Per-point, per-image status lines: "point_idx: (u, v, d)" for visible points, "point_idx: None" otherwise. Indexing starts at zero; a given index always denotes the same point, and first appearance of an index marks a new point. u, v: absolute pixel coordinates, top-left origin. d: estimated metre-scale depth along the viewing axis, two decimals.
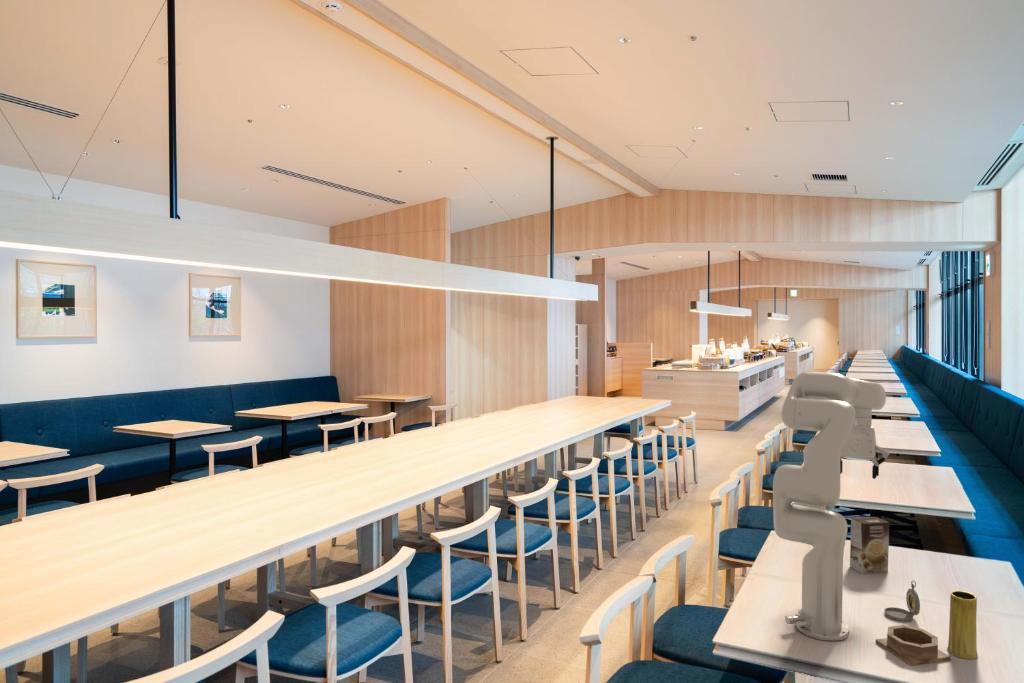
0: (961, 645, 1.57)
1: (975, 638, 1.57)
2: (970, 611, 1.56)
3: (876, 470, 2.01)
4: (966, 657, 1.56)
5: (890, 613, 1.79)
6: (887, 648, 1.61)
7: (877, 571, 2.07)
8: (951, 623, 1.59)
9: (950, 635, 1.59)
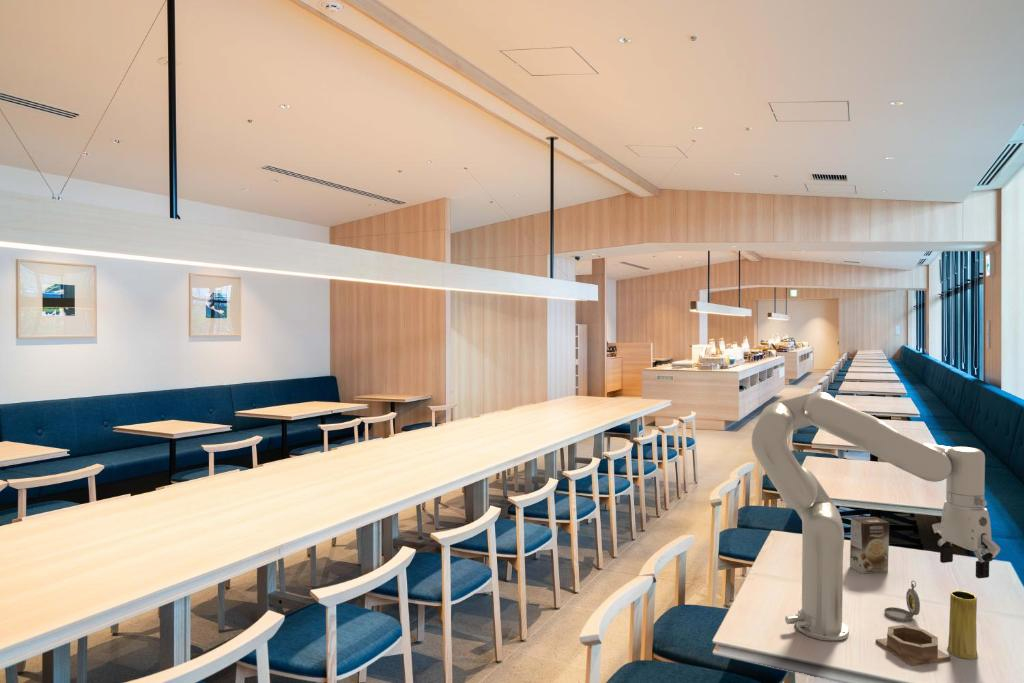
0: (961, 645, 1.57)
1: (975, 638, 1.57)
2: (970, 611, 1.56)
3: None
4: (966, 657, 1.56)
5: (890, 613, 1.79)
6: (887, 648, 1.61)
7: (877, 571, 2.07)
8: (951, 623, 1.59)
9: (950, 635, 1.59)
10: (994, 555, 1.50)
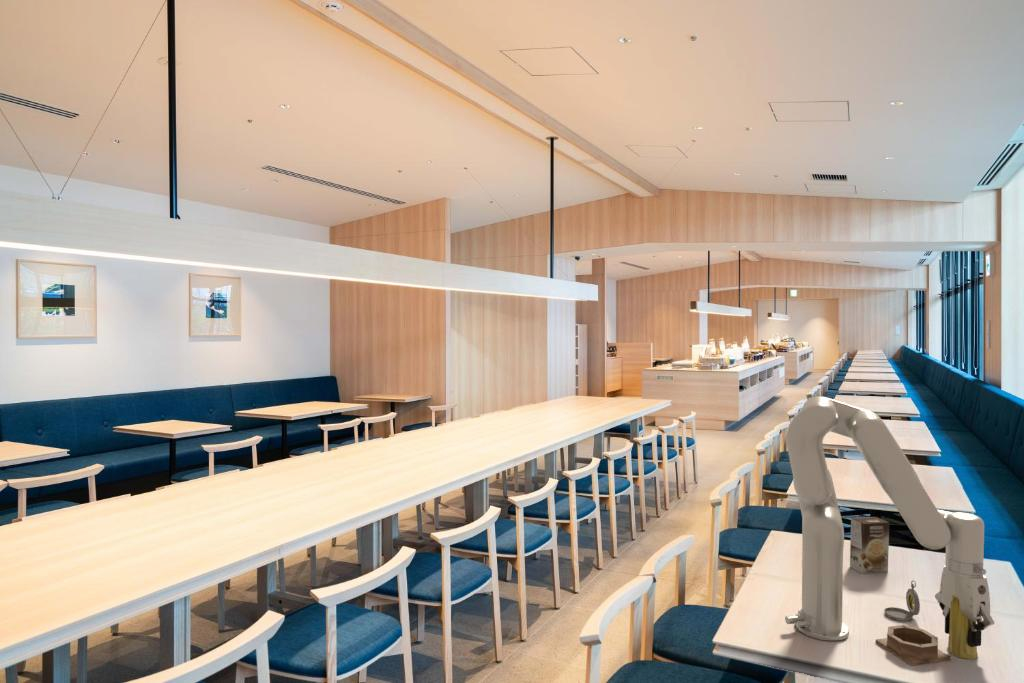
0: (961, 645, 1.57)
1: None
2: None
3: None
4: (966, 657, 1.56)
5: (890, 613, 1.79)
6: (887, 648, 1.61)
7: (877, 571, 2.07)
8: (951, 623, 1.59)
9: (950, 635, 1.59)
10: (986, 626, 1.53)
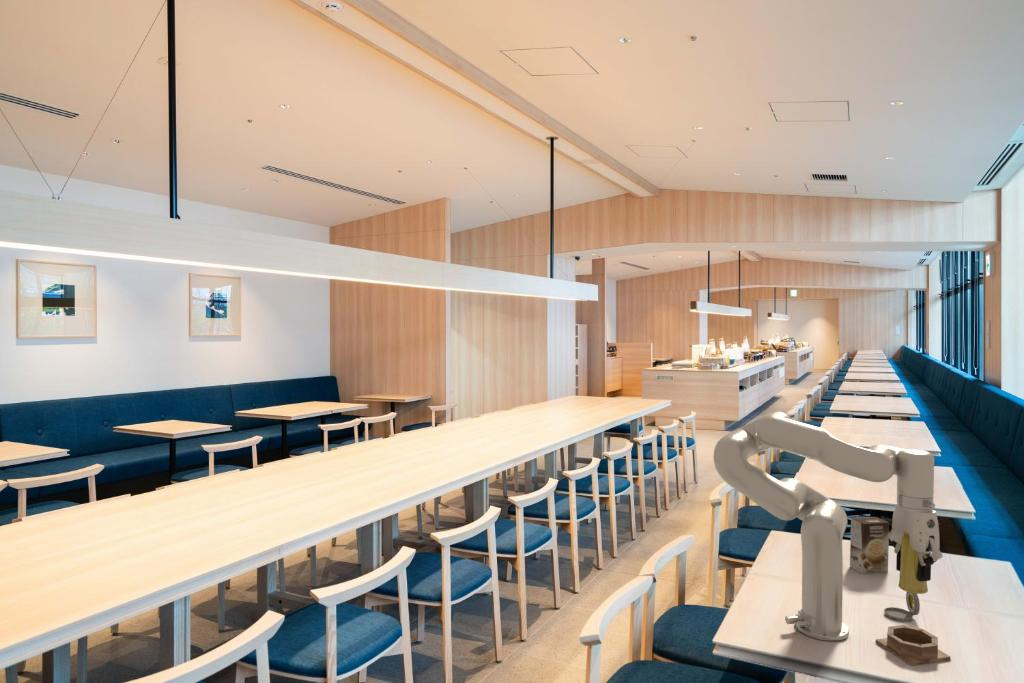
0: (911, 580, 1.57)
1: None
2: None
3: None
4: (916, 591, 1.57)
5: (890, 613, 1.79)
6: (887, 648, 1.61)
7: (877, 571, 2.07)
8: (902, 559, 1.59)
9: (901, 571, 1.60)
10: (934, 560, 1.53)
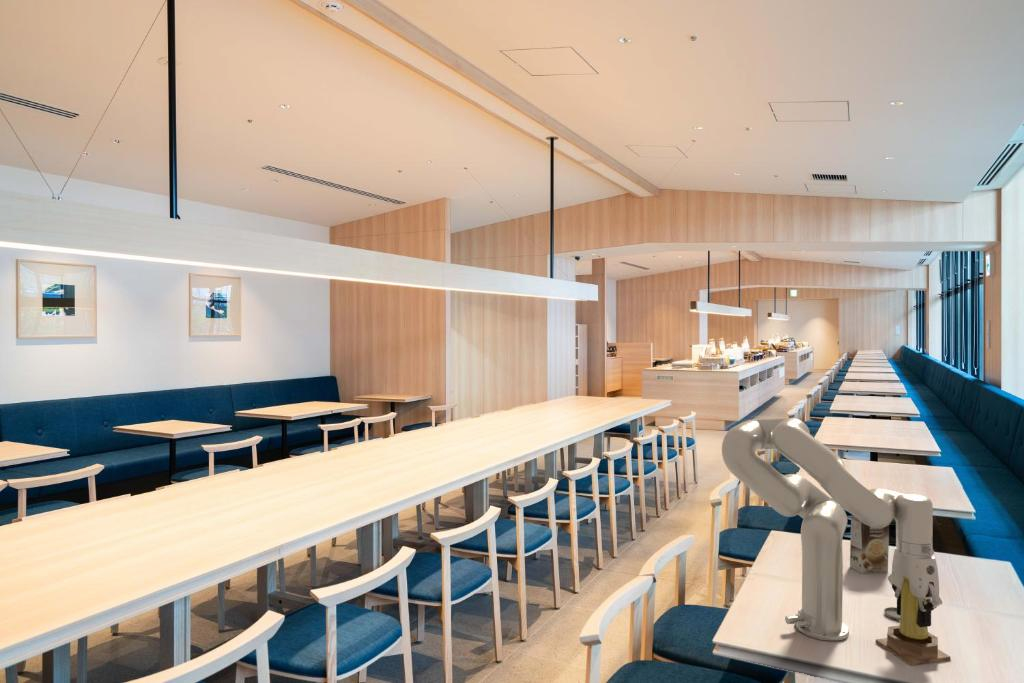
0: (911, 625, 1.57)
1: None
2: None
3: None
4: (917, 637, 1.57)
5: (890, 613, 1.79)
6: (887, 648, 1.61)
7: (877, 571, 2.07)
8: (902, 604, 1.60)
9: (901, 616, 1.60)
10: (934, 606, 1.53)
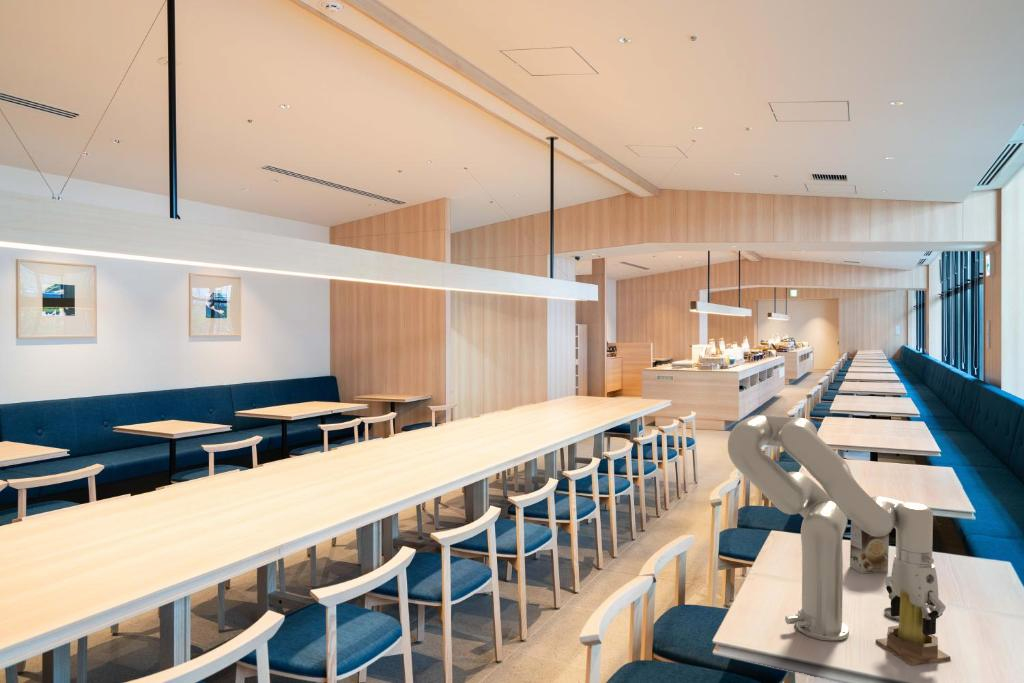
0: (909, 639, 1.58)
1: None
2: None
3: None
4: None
5: (890, 613, 1.79)
6: (887, 648, 1.61)
7: (877, 571, 2.07)
8: (900, 618, 1.60)
9: (899, 630, 1.60)
10: (940, 613, 1.52)
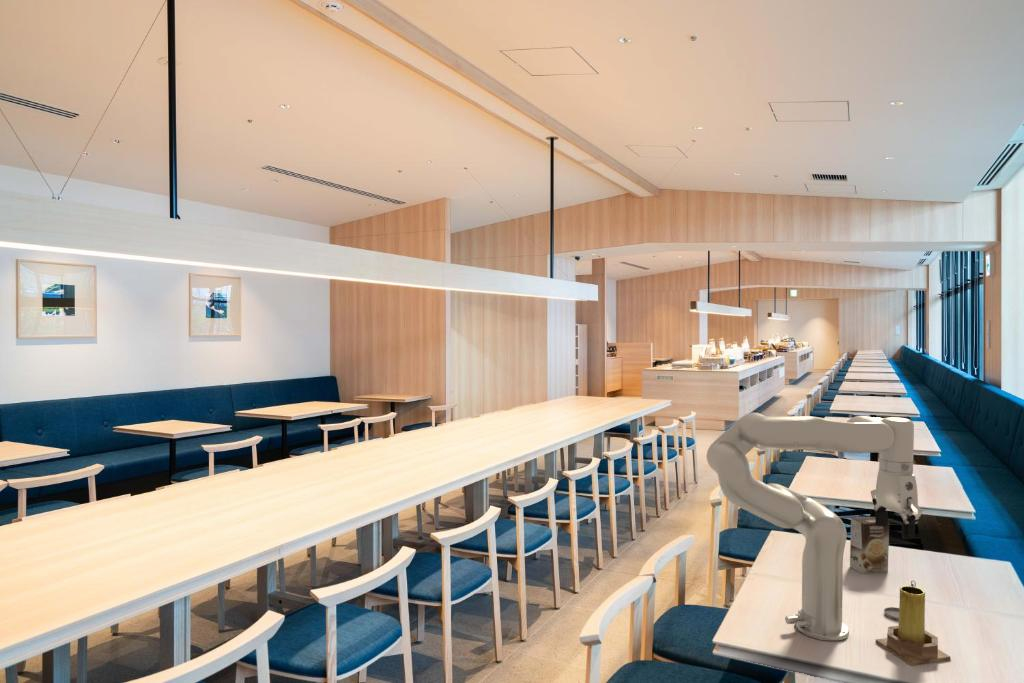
0: (909, 639, 1.58)
1: (923, 633, 1.58)
2: (918, 606, 1.57)
3: None
4: None
5: (890, 613, 1.79)
6: (887, 648, 1.61)
7: (877, 571, 2.07)
8: (900, 618, 1.60)
9: (899, 630, 1.60)
10: (917, 517, 1.61)
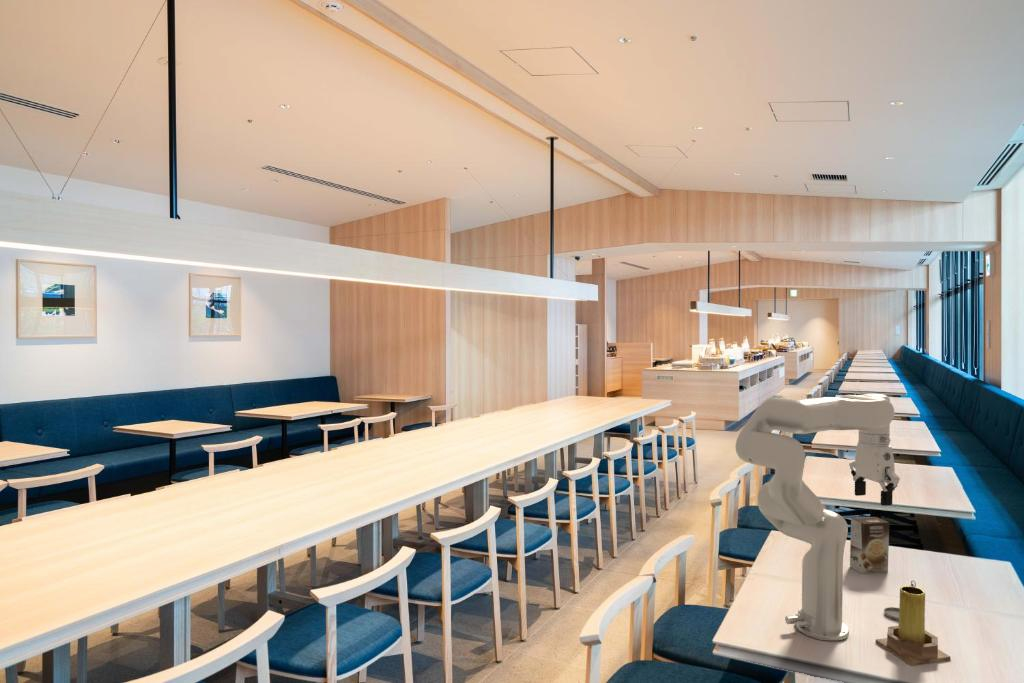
0: (909, 639, 1.58)
1: (923, 633, 1.58)
2: (918, 606, 1.57)
3: None
4: None
5: (890, 613, 1.79)
6: (887, 648, 1.61)
7: (877, 571, 2.07)
8: (900, 618, 1.60)
9: (899, 630, 1.60)
10: (895, 484, 1.74)
